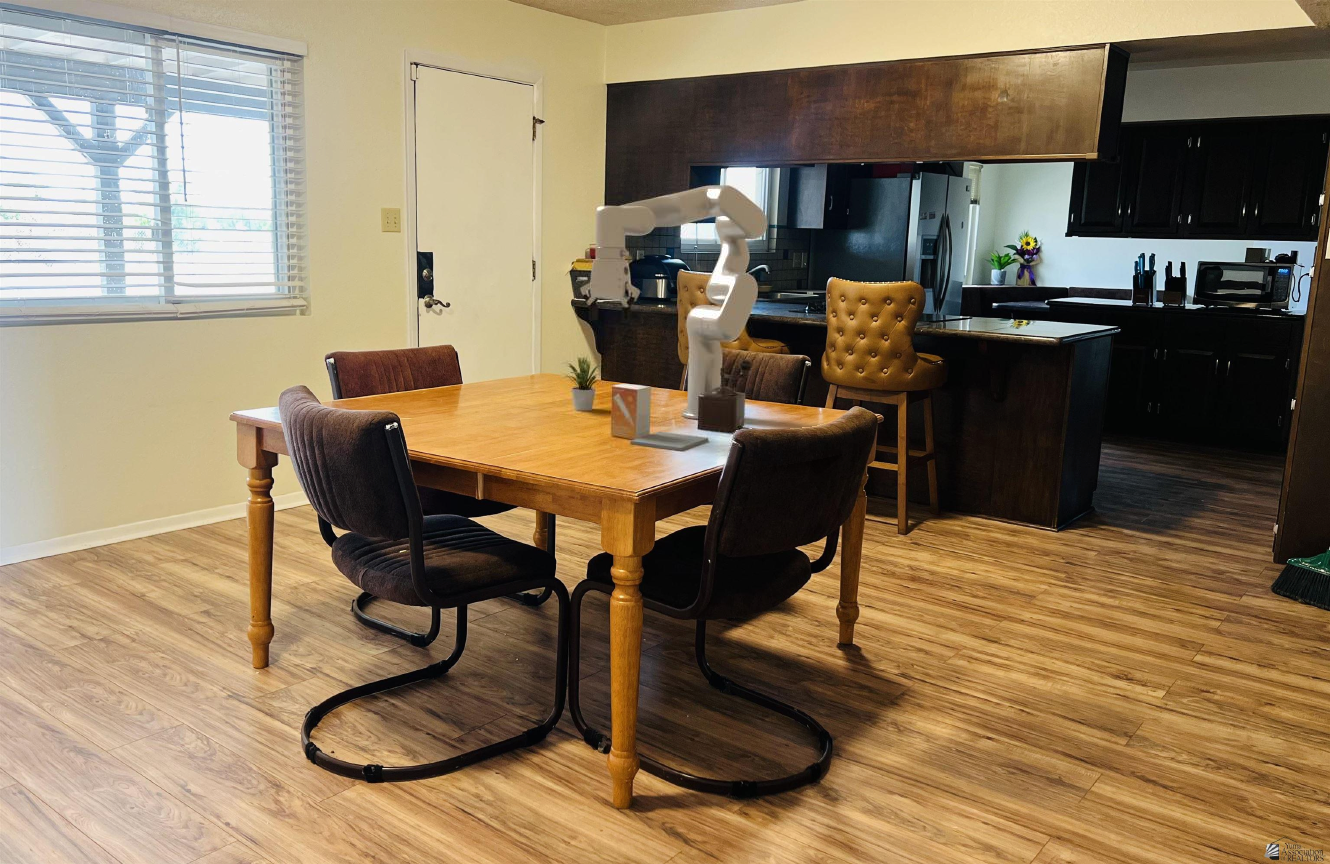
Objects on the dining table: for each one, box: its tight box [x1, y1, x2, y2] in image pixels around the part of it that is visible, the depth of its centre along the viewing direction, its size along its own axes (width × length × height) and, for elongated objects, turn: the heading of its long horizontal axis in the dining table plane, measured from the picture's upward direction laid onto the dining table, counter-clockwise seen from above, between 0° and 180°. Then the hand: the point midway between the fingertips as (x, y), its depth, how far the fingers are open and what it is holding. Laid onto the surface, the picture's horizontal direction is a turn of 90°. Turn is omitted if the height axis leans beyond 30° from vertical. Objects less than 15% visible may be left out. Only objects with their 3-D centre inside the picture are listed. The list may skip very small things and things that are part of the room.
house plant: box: [561, 354, 603, 412], centre depth 298 cm, size 14×14×16 cm
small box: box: [610, 383, 652, 440], centre depth 260 cm, size 8×6×13 cm
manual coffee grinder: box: [697, 359, 754, 434], centre depth 276 cm, size 16×11×18 cm
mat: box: [629, 431, 709, 452], centre depth 255 cm, size 15×14×1 cm
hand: (609, 321), depth 267 cm, fingers open, 9 cm apart
